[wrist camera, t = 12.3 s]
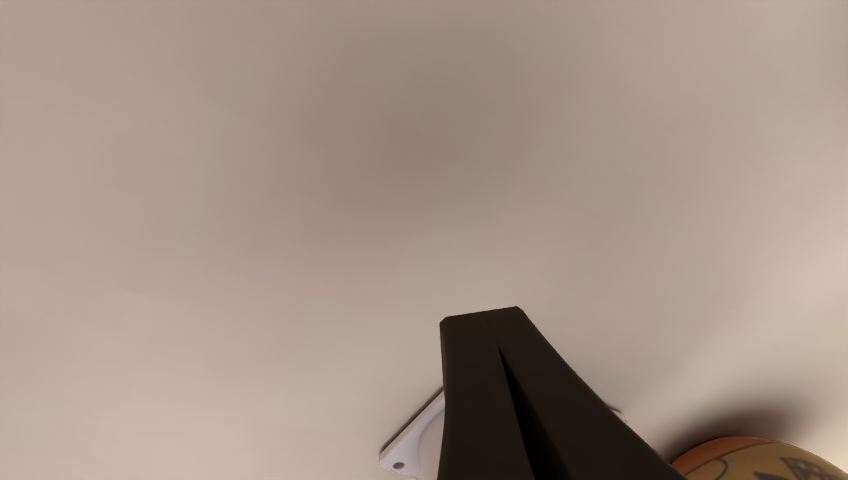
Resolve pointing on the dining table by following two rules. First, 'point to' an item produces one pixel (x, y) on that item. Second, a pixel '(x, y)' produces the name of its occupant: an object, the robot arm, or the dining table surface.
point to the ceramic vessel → (753, 461)
